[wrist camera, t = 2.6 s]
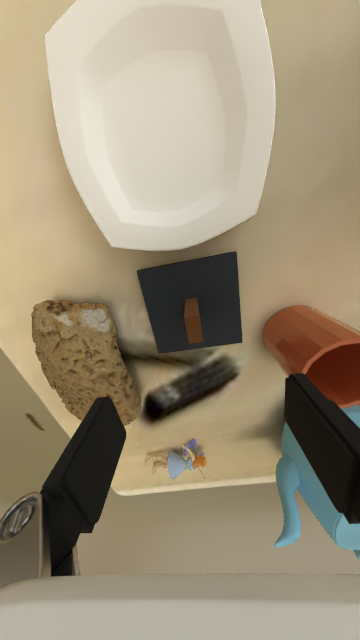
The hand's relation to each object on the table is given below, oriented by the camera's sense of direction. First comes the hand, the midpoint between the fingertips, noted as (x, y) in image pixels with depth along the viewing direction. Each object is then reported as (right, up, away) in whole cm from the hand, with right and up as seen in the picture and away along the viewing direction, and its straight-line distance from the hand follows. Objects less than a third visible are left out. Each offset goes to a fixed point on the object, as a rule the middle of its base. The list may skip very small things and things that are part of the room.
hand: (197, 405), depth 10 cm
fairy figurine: (-2, -22, +26) cm, 34 cm away
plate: (-2, +22, +8) cm, 23 cm away
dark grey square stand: (+1, +6, +14) cm, 16 cm away
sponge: (-13, -1, +18) cm, 23 cm away
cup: (+15, +3, +15) cm, 21 cm away
